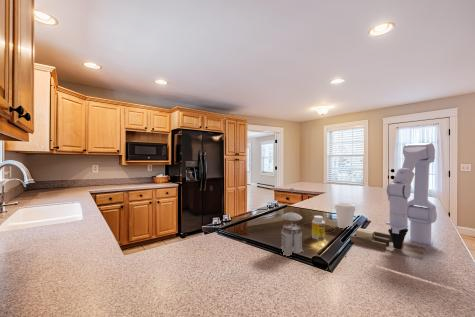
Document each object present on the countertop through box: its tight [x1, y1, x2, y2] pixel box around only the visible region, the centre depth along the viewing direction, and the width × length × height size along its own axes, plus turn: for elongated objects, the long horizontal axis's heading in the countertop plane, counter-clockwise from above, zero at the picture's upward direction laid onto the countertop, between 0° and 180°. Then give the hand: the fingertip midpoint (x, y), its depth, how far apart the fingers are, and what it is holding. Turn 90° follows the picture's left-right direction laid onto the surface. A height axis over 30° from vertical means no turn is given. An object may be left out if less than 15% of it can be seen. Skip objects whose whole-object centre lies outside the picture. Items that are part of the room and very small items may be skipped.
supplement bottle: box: [311, 215, 326, 241], centre depth 98 cm, size 6×6×10 cm
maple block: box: [355, 227, 405, 250], centre depth 89 cm, size 4×16×5 cm, turn 46°
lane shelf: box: [349, 231, 426, 261], centre depth 90 cm, size 15×24×3 cm, turn 46°
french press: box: [280, 187, 303, 257], centre depth 83 cm, size 10×12×25 cm
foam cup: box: [334, 202, 356, 229], centre depth 113 cm, size 10×9×13 cm
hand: (398, 247), depth 85 cm, fingers closed on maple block, 3 cm apart
